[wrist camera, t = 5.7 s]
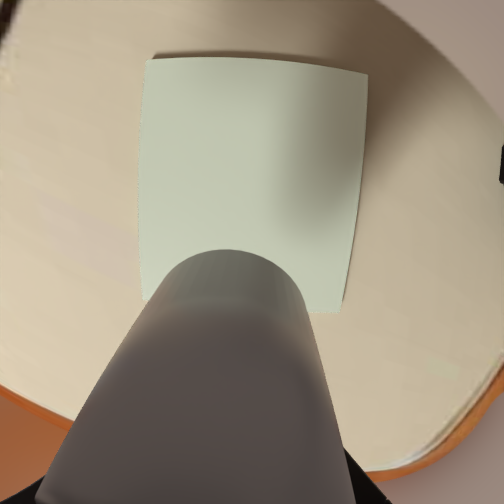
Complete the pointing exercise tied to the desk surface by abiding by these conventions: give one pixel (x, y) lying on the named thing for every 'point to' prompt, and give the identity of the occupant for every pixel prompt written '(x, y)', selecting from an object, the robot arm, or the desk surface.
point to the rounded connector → (209, 400)
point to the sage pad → (251, 167)
